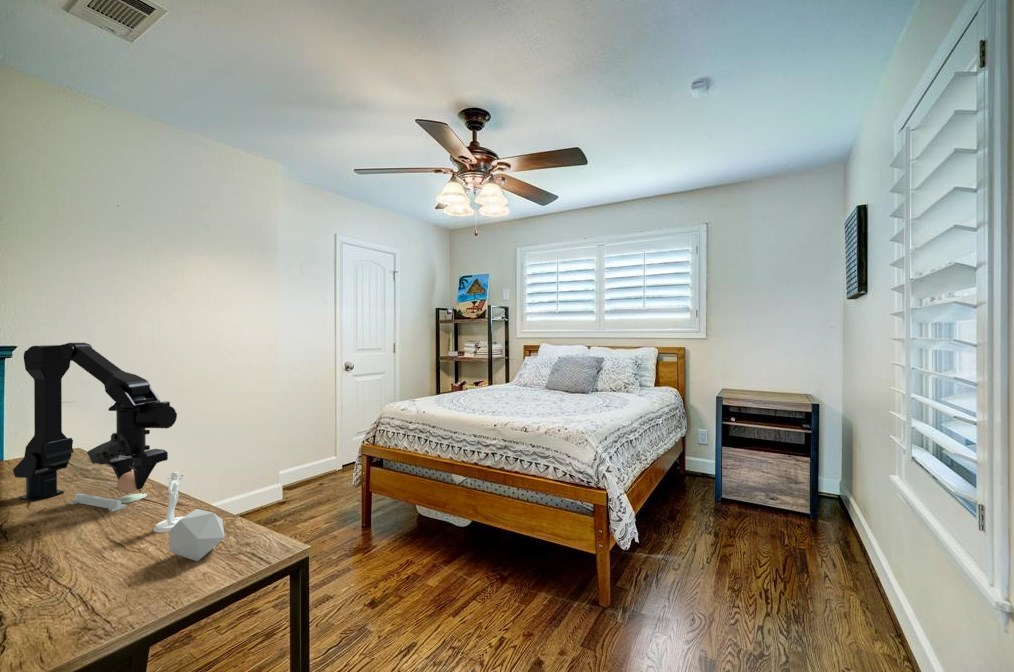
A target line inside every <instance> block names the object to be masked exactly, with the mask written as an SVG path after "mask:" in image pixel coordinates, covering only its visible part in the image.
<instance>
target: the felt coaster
mask: <svg viewBox="0 0 1014 672" xmlns="http://www.w3.org/2000/svg"><path fill="white" fill-rule="evenodd" d="M142 493H144V492H139V493H137V492H136V493H130V494H127V495H124V496H121V497H118V498H115V500H120V501H121V505H122V504H130V503H135V502H134V501H136V502H139V501H141V500H140V499H142V498H145V497H146V496H147V494H148V493H146V494H145V493H144V494H142ZM146 498H147V497H146ZM146 498H145V499H146ZM138 500H139V501H138ZM142 500H143V499H142Z"/></svg>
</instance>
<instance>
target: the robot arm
mask: <svg viewBox="0 0 1014 672" xmlns="http://www.w3.org/2000/svg"><path fill="white" fill-rule="evenodd" d="M71 362H73V363H75V364H76V365H77V366H79V367H80V368H81V369H83V370H84V371H85V372H86V373H89V374H90V375H91V376H92V377H93V378H95V379H97V381H99V382H100V383H102V384H103V386H104V391H105V393H106V394H107V395H108V396H109V397H110V398H111V399H112V401H114V402H115V403H114V404H113V405H110V407H108V412H116V415H115V416H116V419H115V420H116V425H115V426H116V432H113V433H112V434H111V435H110V440H108V441H106V442H103V443H101V444H99V445H97V446H95V447H93V448H91V449H89V450H88V451H87V452H86V453H87V455H88V457H89V459H90V461H91V464H93V465H94V464H98V465H100V466H101V465H107V466H108V467H109V468H110V467H111V468H112V470H113V472H114V474H115V477H116V478H117V481H118V480H119V478H120V477H121V476H122V475H123V474H125V473H127V472H130V471H134V477H135V485H136V489H137V490H138V491H140V490H142V489H143V487H144V486H145V484H146V482H147V480H148V479H149V476H150V475H151V473H152V472H153V470H154V469H155V467H156V465H157V464H158V463H161V462H165V461H166V462H167V461H168V459H169V456H168V455H169V453H168V451H167V450H166V449H163V448H160V449H159V448H152V449H150V447H151V446H150V445H148V444H147V443H146V441H147V440H146V439H147V438H146V436H147V435H150V434H151V433H150V429H170V428H171V427H173V426H174V425H175V423H176V421H177V418H178V417H177V416H178V412H176V410H175V408H174V407H173V406H172V405H171V402H170V401H169V400H168V401H167V400H166V401H165V400H164V401H161V400H160V398H159V397H158V395H157V394H156V392H155V391H154V390H153V389H152V387H151V383H150V382H149V381H148V380H147V379H145V378H144V377H141V376H139V375H137V374H133V373H131V372H127V371H124V370H122V369H121V368H119V367H118V366H117V365H115V364H114V363H113V362H111V360H109V359H107V358H106V357H105V356H103V355H102V354H100V352H97V351H96V350H95V349H94V348H93V346H92V345H91V344H90V343H87V342H67V343H64V344H57V345H56V344H50V345H49V344H48V345H32V346H30V347H28V349H27V350H25V351H24V353H23V363H24V368H25V371H26V373H28V374H29V376H31V378H32V379H33V384H34V387H33V388H34V389H33V390H34V392H33V393H34V398H33V399H34V401H33V403H34V406H33V407H34V410H33V411H34V414H33V415H34V424H33V425H34V435H33V437H32V438H31V439H30V440H29V442H28V443H27V444H26V445H25V450H24V457H23V458H22V459H21V460H20V462H18V463H17V465H16V466H15V467H14V468H13V469H12V472H13V475H14V478H21V479H23V478H24V479H25V494H24V495H20V496H18V499H19V500H24V501H31V502H36V501H38V500H43V499H47V498H50V497H54V496H58V495H61V494H64V493H65V490H61V489H58V471H60V470H62V469H63V470H64V469H67V468H68V464H69V461H70V460H71V458H72V453H74V449H73V444H74V440H73V438H72V437H67V436H66V435H65V434H64V433H63V430H62V429H63V427H62V426H63V425H62V424H63V421H62V419H63V418H62V417H63V416H62V414H63V413H62V412H63V410H62V405H63V404H62V402H63V401H62V400H63V399H62V398H63V397H62V393H63V392H62V391H63V389H62V385H63V384H62V379H63V377H64V376H65V375H66V373H67V372H68V371H69V369H70V366H71ZM146 444H147V445H146ZM139 489H140V490H139Z"/></svg>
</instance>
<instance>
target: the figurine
mask: <svg viewBox="0 0 1014 672" xmlns="http://www.w3.org/2000/svg"><path fill="white" fill-rule="evenodd" d="M170 475H171V476H170V477H169V478H167V480H170V481H169V484H168V489H167V492H168V496H167V497H168V498H167V499H168V505H167V509H166V519H164V520H162V521H160V522H158V523H157V524H156V525H155V526H154V528H153V532H155V533H160V534H161V533H169V531H170V530H171V529H172V528H173V527H174V526H175V524H176V523H177V522H178V521H179V520H180V519H182V518H183V517H185V516H186V515H185V516H182V515H181V516H176V517H175V508H176V506H177V503H178V500H179V498H180V495H179V487H180V481H181V480H183V477H186V474H185V473H181V474H180V475H179V471H174V472H172V473H171V474H170Z"/></svg>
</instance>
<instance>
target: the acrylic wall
mask: <svg viewBox="0 0 1014 672" xmlns="http://www.w3.org/2000/svg"><path fill="white" fill-rule="evenodd" d="M74 497H75V498H74V500H71V501H69V504H70V505H73V506H74V505H76V504H81V505H89V506H92V507H93V506H94V507H98V508H105V509H108V512H111V513H113V512H116V511H119V510H122V509H125V508H127V504H126V503H122V504H121V501H120V500H116V498H115V499H114V498H109V497H108V498H107V497H103V496H96V495H91V494H83V493H76V494H75V495H74Z"/></svg>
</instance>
